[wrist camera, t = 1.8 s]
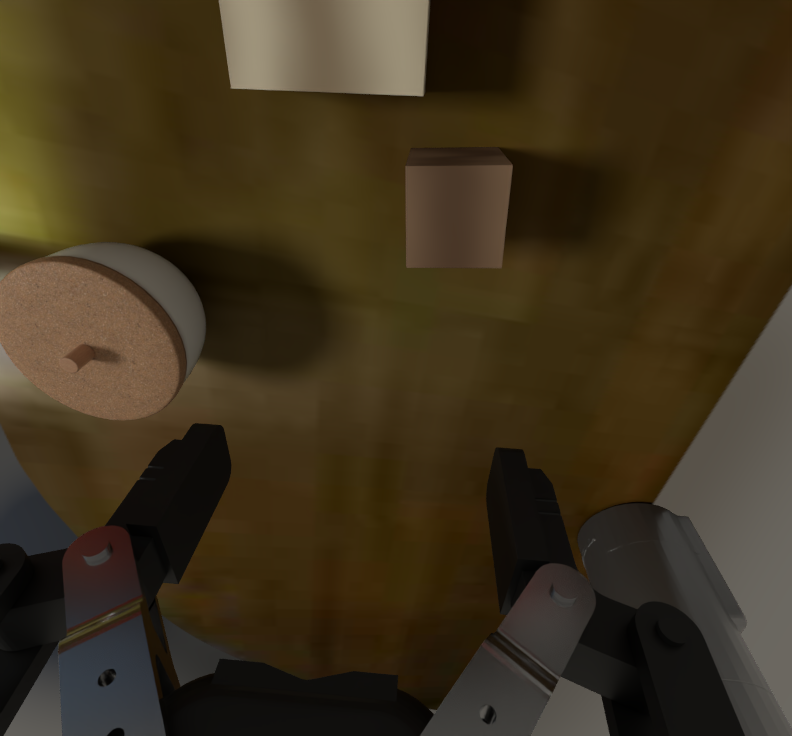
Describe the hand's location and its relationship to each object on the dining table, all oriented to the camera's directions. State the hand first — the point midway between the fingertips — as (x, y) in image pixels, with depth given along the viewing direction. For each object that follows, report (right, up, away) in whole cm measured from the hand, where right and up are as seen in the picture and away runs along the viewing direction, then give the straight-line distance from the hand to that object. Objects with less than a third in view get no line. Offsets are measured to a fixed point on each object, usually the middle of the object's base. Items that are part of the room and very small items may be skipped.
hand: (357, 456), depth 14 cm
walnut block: (+5, +13, +14) cm, 20 cm away
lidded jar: (-16, +8, +20) cm, 27 cm away
